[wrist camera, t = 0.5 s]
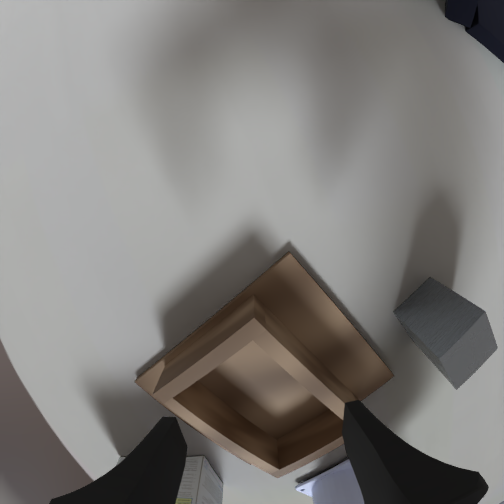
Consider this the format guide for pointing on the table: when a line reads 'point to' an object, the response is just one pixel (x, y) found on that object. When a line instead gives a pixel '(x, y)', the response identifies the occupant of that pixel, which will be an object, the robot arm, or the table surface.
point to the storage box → (480, 21)
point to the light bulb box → (198, 483)
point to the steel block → (448, 330)
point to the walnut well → (270, 372)
